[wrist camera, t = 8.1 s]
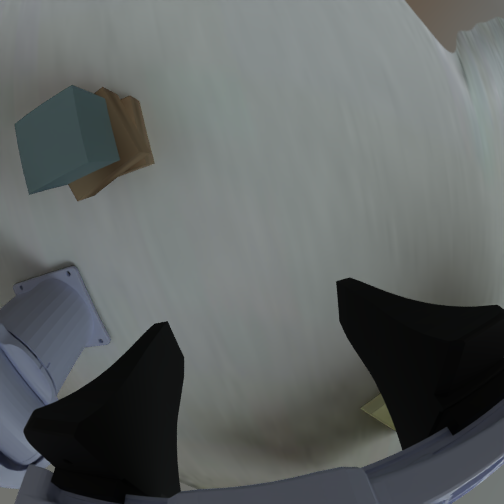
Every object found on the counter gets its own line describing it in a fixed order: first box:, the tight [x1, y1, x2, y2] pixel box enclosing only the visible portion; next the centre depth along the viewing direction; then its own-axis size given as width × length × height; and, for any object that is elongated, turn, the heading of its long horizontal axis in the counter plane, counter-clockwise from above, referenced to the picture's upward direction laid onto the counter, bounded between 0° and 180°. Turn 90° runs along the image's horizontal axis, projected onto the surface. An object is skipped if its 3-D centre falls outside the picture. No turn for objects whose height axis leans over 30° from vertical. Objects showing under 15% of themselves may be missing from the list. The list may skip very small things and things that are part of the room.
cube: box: [15, 85, 120, 195], centre depth 11 cm, size 4×4×4 cm
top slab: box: [68, 87, 151, 201], centre depth 14 cm, size 5×5×2 cm
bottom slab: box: [118, 96, 155, 177], centre depth 17 cm, size 5×5×2 cm
